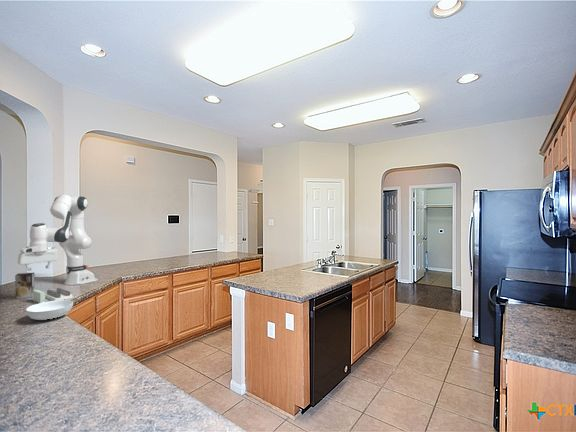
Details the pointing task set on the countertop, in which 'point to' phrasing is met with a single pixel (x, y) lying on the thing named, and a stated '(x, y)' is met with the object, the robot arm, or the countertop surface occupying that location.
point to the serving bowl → (49, 309)
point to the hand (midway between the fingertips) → (38, 269)
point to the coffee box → (24, 285)
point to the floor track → (58, 294)
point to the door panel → (38, 296)
